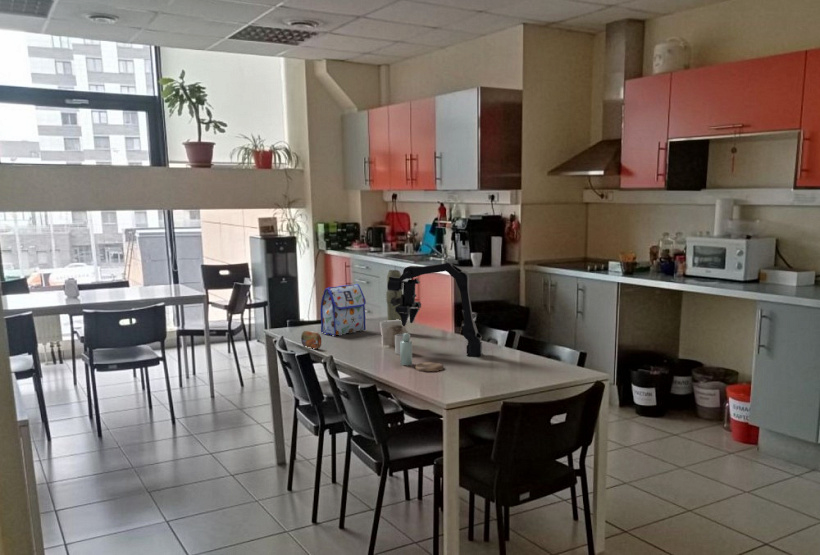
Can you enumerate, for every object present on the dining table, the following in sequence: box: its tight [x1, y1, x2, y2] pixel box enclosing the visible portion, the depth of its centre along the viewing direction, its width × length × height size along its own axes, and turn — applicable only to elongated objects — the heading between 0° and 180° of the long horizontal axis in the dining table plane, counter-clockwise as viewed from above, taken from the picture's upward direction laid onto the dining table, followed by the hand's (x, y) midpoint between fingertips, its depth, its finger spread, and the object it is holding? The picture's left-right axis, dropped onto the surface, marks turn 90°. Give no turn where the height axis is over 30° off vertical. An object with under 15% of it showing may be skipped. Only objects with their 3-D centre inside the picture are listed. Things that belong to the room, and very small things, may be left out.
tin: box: [300, 330, 322, 350], centre depth 325 cm, size 15×3×8 cm, turn 42°
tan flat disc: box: [415, 362, 444, 372], centre depth 281 cm, size 12×12×1 cm
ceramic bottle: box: [399, 332, 413, 366], centre depth 288 cm, size 5×5×14 cm
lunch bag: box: [320, 283, 367, 337], centre depth 362 cm, size 23×17×27 cm
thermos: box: [385, 269, 403, 321], centre depth 359 cm, size 9×12×35 cm
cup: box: [394, 333, 411, 356], centre depth 311 cm, size 7×10×9 cm
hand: (407, 324), depth 311 cm, fingers open, 9 cm apart
